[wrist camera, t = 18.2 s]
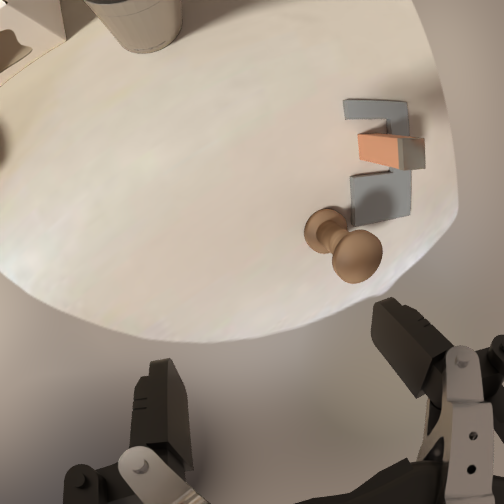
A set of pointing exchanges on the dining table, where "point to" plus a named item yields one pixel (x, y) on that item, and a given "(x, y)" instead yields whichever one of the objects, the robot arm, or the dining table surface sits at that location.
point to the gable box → (27, 33)
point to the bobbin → (344, 245)
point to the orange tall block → (393, 150)
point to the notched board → (380, 184)
